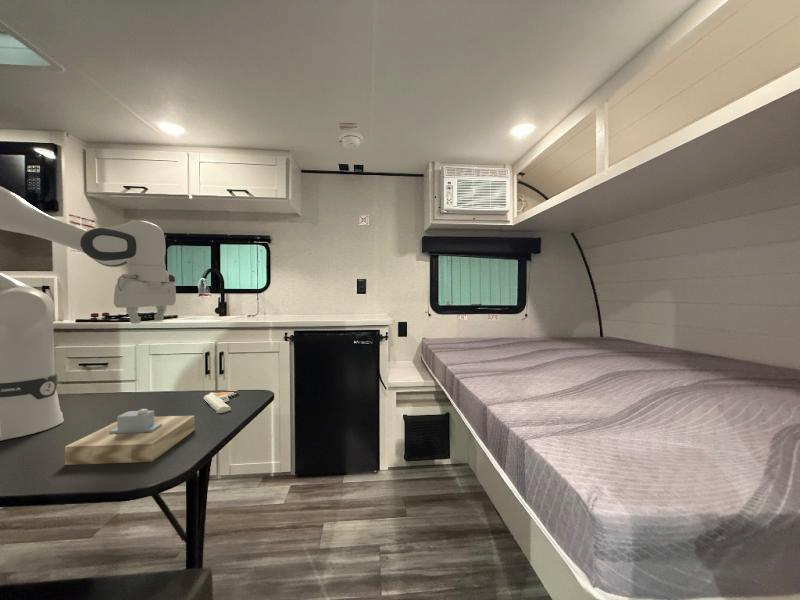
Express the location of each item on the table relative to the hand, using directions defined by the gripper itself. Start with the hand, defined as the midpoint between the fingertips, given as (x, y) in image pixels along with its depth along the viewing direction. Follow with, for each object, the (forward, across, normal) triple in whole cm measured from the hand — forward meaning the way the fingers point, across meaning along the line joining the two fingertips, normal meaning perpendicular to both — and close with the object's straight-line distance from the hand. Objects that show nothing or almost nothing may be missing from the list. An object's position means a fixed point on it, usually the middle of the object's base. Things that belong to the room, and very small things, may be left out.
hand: (147, 321), depth 92 cm
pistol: (+30, +12, -17) cm, 36 cm away
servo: (+29, -18, -10) cm, 36 cm away
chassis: (+29, -18, -10) cm, 36 cm away
